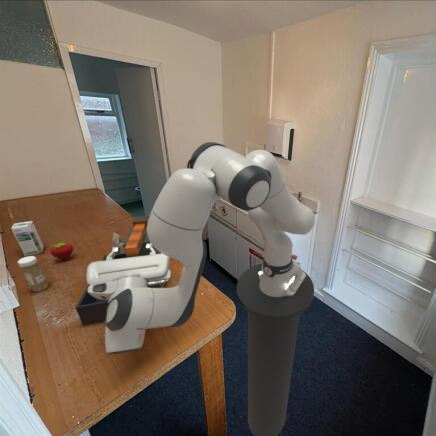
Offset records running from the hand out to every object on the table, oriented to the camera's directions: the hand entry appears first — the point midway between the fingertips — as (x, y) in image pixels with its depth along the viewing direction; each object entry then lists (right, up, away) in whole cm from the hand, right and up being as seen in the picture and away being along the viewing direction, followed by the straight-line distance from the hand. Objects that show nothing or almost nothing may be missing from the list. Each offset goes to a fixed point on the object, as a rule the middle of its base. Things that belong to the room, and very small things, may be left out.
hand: (133, 245), depth 72 cm
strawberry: (-53, -10, +33) cm, 64 cm away
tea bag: (-34, -8, +41) cm, 54 cm away
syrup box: (-71, -7, +37) cm, 80 cm away
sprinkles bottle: (-48, -19, +18) cm, 54 cm away
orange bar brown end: (-3, +1, +7) cm, 7 cm away
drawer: (-20, -20, +19) cm, 34 cm away
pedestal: (-6, -20, +21) cm, 30 cm away
